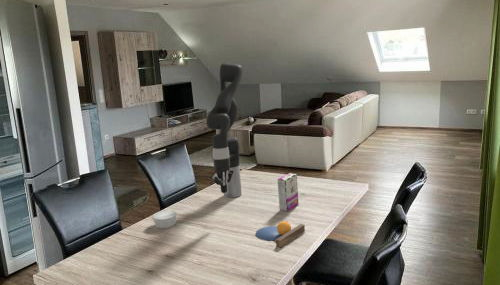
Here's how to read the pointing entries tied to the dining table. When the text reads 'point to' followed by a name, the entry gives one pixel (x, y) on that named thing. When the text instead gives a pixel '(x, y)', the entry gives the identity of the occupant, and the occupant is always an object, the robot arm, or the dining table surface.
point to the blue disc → (268, 233)
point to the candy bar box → (288, 192)
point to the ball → (283, 227)
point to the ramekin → (165, 219)
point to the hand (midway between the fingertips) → (224, 192)
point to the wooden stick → (290, 235)
